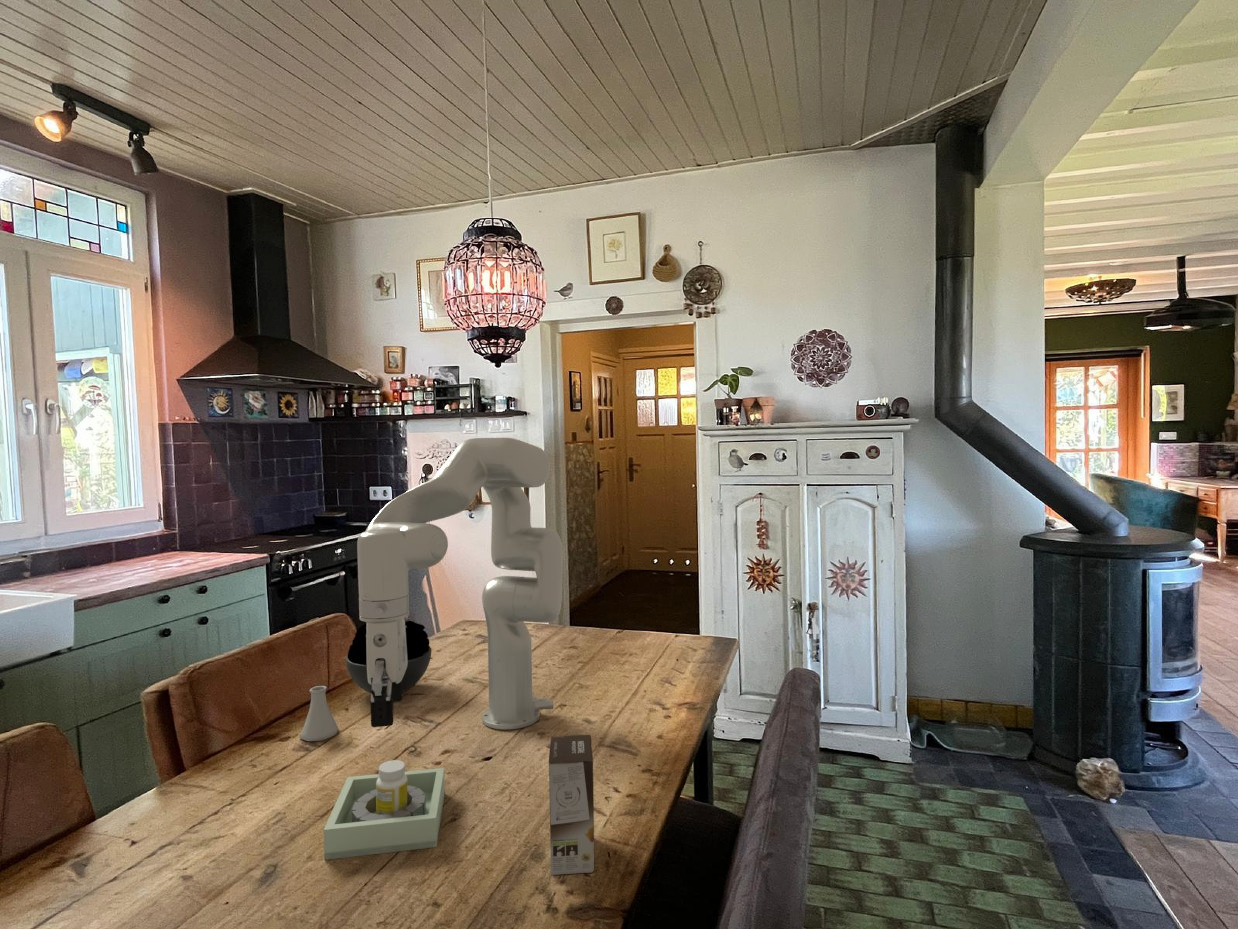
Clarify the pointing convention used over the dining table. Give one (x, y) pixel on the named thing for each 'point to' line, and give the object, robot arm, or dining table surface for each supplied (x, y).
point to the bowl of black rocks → (415, 655)
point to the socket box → (385, 817)
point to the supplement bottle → (391, 787)
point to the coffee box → (571, 804)
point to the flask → (319, 717)
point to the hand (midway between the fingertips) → (387, 713)
